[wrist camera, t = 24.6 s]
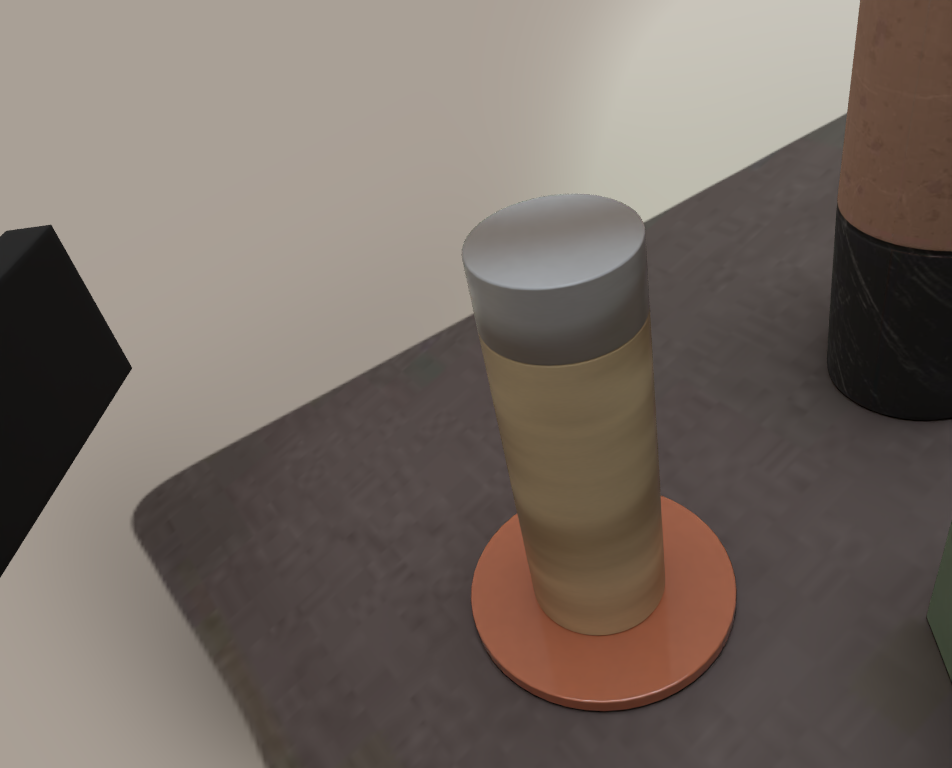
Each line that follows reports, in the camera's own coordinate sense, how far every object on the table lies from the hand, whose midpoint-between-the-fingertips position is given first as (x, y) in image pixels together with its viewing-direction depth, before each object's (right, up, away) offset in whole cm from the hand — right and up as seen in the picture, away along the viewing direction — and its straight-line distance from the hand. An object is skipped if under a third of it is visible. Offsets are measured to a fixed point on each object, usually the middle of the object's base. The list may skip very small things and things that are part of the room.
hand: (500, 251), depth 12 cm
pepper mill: (+4, -4, +22) cm, 23 cm away
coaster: (+4, -10, +20) cm, 23 cm away
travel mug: (+20, -1, +27) cm, 33 cm away
